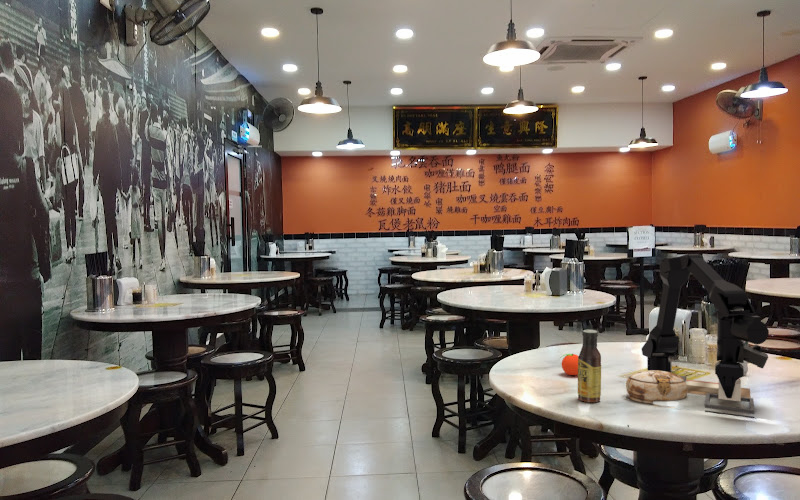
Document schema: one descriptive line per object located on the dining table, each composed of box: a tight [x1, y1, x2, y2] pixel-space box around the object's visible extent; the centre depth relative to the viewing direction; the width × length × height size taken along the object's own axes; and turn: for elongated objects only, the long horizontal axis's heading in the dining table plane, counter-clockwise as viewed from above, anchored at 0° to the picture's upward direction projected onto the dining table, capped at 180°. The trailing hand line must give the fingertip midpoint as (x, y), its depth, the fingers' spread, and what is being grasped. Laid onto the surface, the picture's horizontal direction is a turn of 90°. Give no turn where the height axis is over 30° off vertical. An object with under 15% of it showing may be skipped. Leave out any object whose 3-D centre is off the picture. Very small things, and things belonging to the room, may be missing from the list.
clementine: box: [558, 353, 579, 376], centre depth 186 cm, size 8×7×7 cm
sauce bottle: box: [577, 329, 602, 404], centre depth 160 cm, size 7×6×20 cm
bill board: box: [679, 375, 752, 398], centre depth 163 cm, size 18×12×4 cm, turn 60°
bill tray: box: [704, 393, 755, 419], centre depth 151 cm, size 11×11×2 cm
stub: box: [717, 377, 742, 403], centre depth 150 cm, size 5×6×5 cm
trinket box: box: [625, 370, 688, 404], centre depth 160 cm, size 13×15×8 cm
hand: (729, 394), depth 151 cm, fingers closed on stub, 6 cm apart
